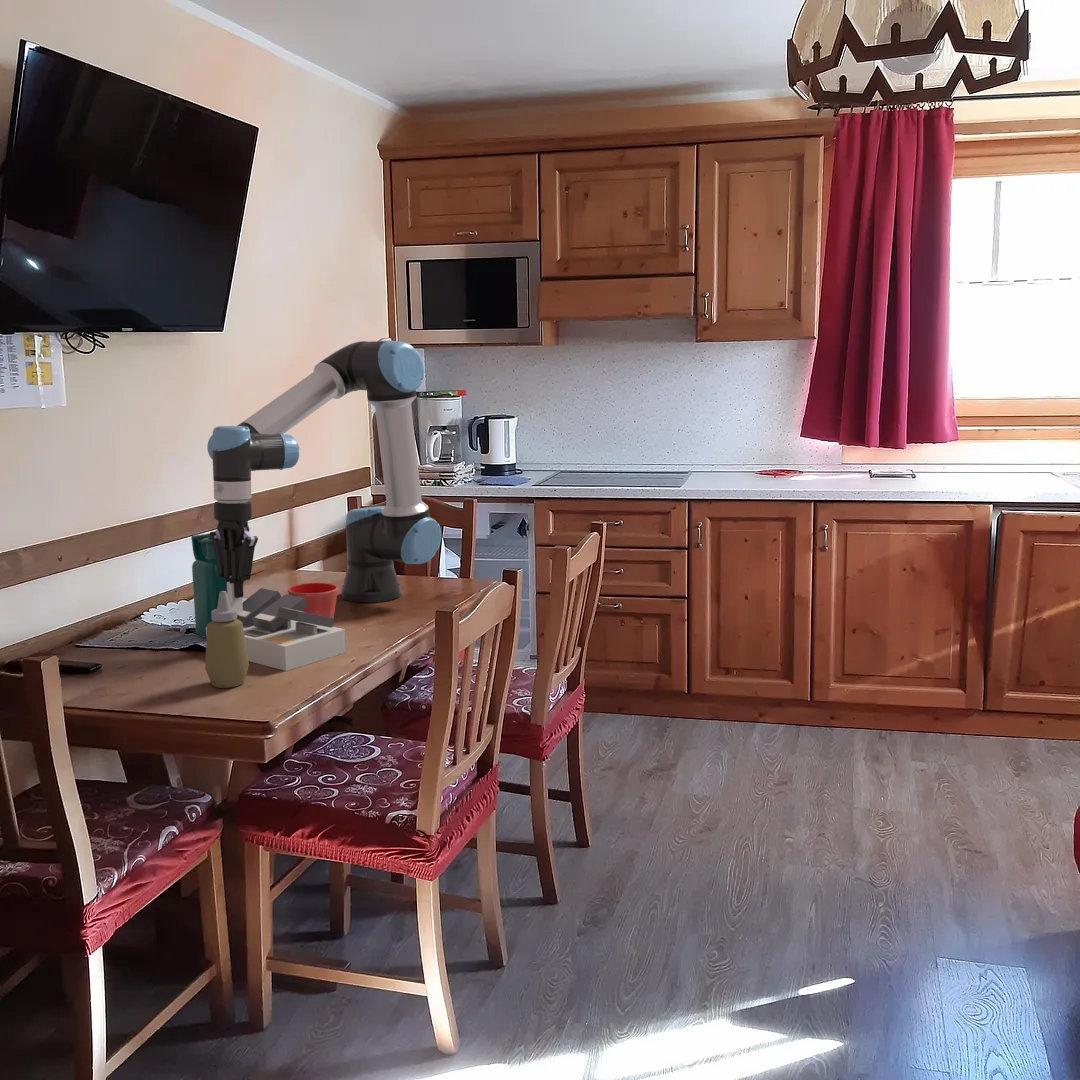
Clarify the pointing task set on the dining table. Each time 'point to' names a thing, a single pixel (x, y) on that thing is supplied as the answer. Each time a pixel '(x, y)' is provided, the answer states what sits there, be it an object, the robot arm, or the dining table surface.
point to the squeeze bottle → (225, 646)
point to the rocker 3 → (305, 617)
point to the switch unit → (292, 644)
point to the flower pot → (317, 597)
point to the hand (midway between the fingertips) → (235, 612)
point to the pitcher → (205, 581)
